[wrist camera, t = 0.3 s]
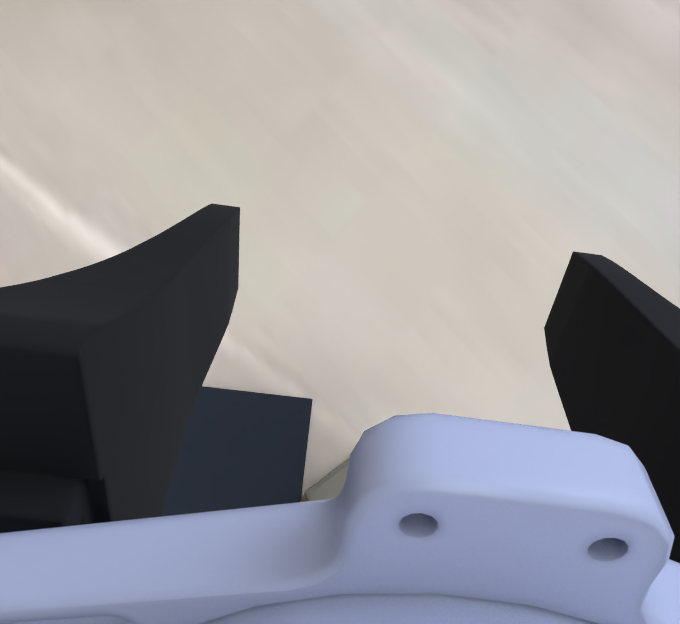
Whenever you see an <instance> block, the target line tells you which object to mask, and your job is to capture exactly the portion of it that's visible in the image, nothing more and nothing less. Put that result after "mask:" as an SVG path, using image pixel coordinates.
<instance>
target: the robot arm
mask: <svg viewBox="0 0 680 624" xmlns="http://www.w3.org/2000/svg"><path fill="white" fill-rule="evenodd" d="M239 226H240V207H233V206H225V205H218V204H210V205H208V206H206V207H204V208H202V209H201V210H199V211H197V212H196V213H194V214H192V215H191V216H189V217H187V218H186V219H184V220H182V221H181V222H179V223H177V224H176V225H174V226H172V227H171V228H169V229H167V230H165V231H164V232H162V233H160V234H158V235H157V236H155V237H153V238H151V239H149V240H147V241H145V242H143V243H141V244H139V245H137V246H135V247H133V248H131V249H129V250H127V251H125V252H123V253H120V254H118V255H116V256H113V257H111V258H108V259H106V260H103V261H100V262H98V263H95V264H92V265H90V266H87V267H84V268H81V269H77V270H74V271H70V272H67V273H63V274H60V275H56V276H52V277H49V278H45V279H41V280H37V281H32V282H28V283H23V284H18V285H12V286H7V287H1V288H0V624H680V309H679V308H678V307H677V306H675V305H674V304H672V303H671V302H669V301H668V300H667V299H665V298H664V297H662V296H661V295H660V294H658V293H657V292H655V291H654V290H653V289H651V288H650V287H649V286H647V285H646V284H644V283H643V282H642V281H640V280H639V279H637V278H636V277H635V276H633V275H632V274H631V273H629V272H628V271H626V270H625V269H623V268H622V267H620V266H619V265H617V264H616V263H614V262H613V261H611V260H609V259H608V258H606V257H604V256H602V255H595V254H588V253H580V252H573V253H572V256H571V259H570V261H569V264H568V267H567V269H566V272H565V275H564V277H563V280H562V282H561V285H560V288H559V290H558V293H557V296H556V298H555V301H554V304H553V306H552V309H551V311H550V314H549V317H548V319H547V322H546V325H545V327H544V330H545V337H546V345H547V351H548V357H549V363H550V367H551V370H552V374H553V377H554V380H555V383H556V386H557V389H558V392H559V395H560V398H561V401H562V404H563V407H564V410H565V413H566V416H567V419H568V422H569V425H570V428H571V431H567V430H560V429H552V428H544V427H537V426H529V425H521V424H513V423H506V422H498V421H490V420H482V419H475V418H467V417H459V416H451V415H444V414H436V413H429V414H413V415H397V416H393V417H391V418H389V419H387V420H385V421H384V422H382V423H380V424H378V425H376V426H374V427H372V428H370V429H368V430H366V431H364V433H363V434H362V436H361V438H360V439H359V441H358V443H357V444H356V446H355V448H354V449H353V451H352V453H351V454H350V460H349V465H348V471H347V476H346V481H345V484H344V486H343V489H342V492H341V493H340V494H339V495H338V496H337V497H335V498H333V499H327V500H317V501H307V502H298V503H288V504H278V505H269V506H259V507H249V508H239V509H230V510H220V511H210V512H201V513H191V514H181V515H172V516H162V517H161V514H162V511H163V507H164V503H165V499H166V496H167V492H168V488H169V485H170V481H171V478H172V474H173V471H174V467H175V463H176V460H177V456H178V453H179V449H180V446H181V443H182V439H183V436H184V433H185V429H186V426H187V423H188V420H189V416H190V413H191V411H192V408H193V405H194V403H195V400H196V397H197V395H198V393H199V390H200V388H201V386H202V384H203V381H204V379H205V377H206V375H207V372H208V370H209V368H210V365H211V363H212V361H213V359H214V356H215V354H216V352H217V349H218V347H219V345H220V343H221V340H222V338H223V336H224V333H225V331H226V328H227V326H228V324H229V320H230V317H231V313H232V309H233V306H234V302H235V298H236V294H237V290H238V272H239Z"/></svg>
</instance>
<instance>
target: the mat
mask: <svg viewBox="0 0 680 624" xmlns="http://www.w3.org/2000/svg"><path fill="white" fill-rule="evenodd" d="M311 406H312V399H307V398H298V397H290V396H281V395H272V394H263V393H255V392H246V391H237V390H228V389H220V388H211V387H202V386H201V388H200V390H199V393H198V395H197V397H196V400H195V403H194V405H193V408H192V411H191V413H190V416H189V420H188V423H187V426H186V429H185V433H184V436H183V439H182V443H181V446H180V449H179V453H178V456H177V460H176V463H175V467H174V471H173V474H172V478H171V481H170V485H169V488H168V492H167V496H166V499H165V503H164V507H163V511H162V514H161V517H162V516H172V515H181V514H191V513H201V512H210V511H220V510H230V509H239V508H249V507H259V506H269V505H278V504H288V503H298V502H300V501H301V492H302V484H303V475H304V466H305V458H306V449H307V441H308V432H309V424H310V415H311Z"/></svg>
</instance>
